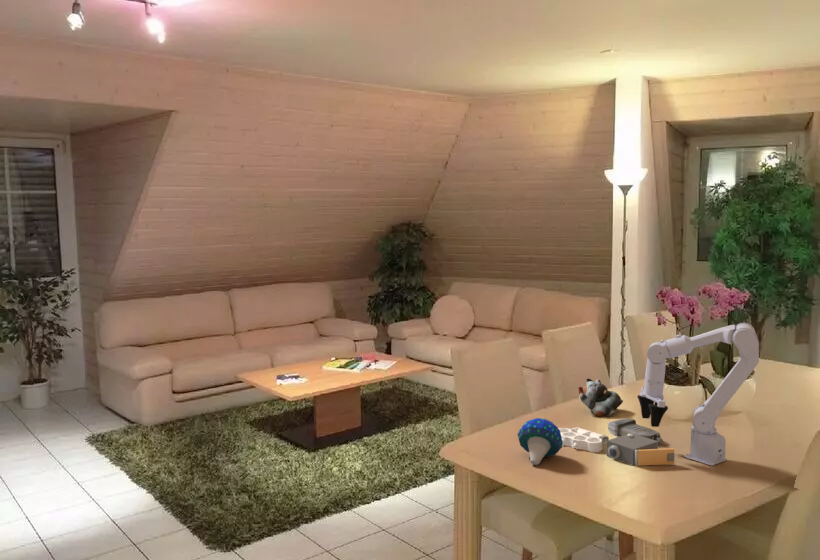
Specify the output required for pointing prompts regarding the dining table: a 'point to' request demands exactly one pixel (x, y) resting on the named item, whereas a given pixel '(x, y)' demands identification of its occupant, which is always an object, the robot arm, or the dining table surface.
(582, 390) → the lucky cat figurine
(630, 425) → the handheld device
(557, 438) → the mushroom
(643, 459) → the side door
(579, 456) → the dining table surface
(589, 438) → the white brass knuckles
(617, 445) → the grey box with knob
